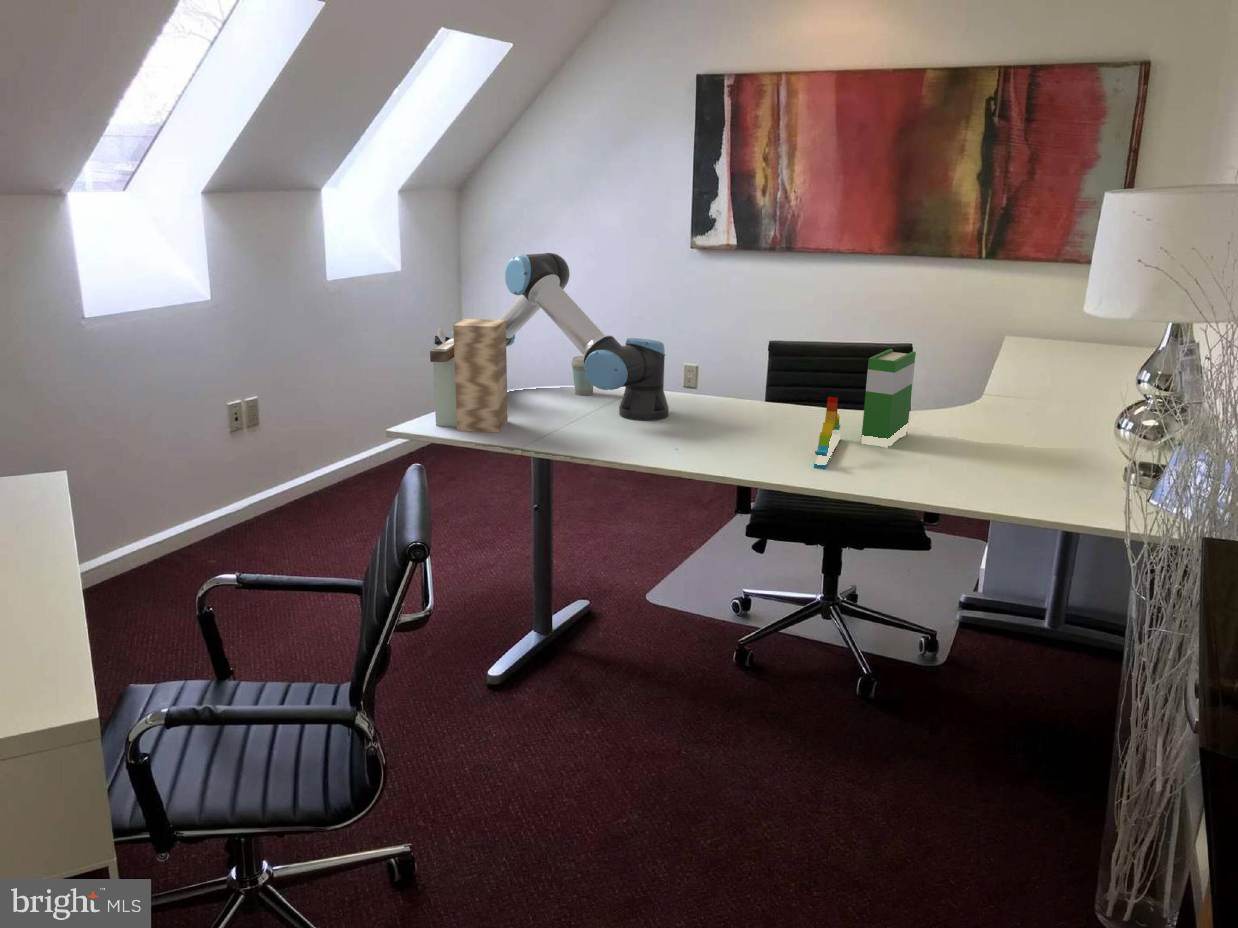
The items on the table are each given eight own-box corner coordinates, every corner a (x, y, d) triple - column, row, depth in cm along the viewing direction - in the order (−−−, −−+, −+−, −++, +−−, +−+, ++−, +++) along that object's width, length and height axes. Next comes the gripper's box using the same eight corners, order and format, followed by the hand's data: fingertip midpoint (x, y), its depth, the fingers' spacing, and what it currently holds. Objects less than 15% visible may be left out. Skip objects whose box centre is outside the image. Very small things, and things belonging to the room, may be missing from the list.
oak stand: (507, 421, 284) (505, 320, 275) (498, 432, 272) (496, 326, 263) (467, 420, 285) (464, 318, 276) (457, 430, 273) (453, 325, 265)
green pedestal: (467, 418, 286) (465, 352, 280) (459, 426, 278) (457, 358, 272) (444, 417, 287) (441, 351, 281) (435, 425, 278) (432, 357, 273)
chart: (826, 470, 243) (831, 412, 239) (813, 469, 244) (818, 411, 240) (841, 440, 271) (845, 388, 266) (829, 439, 272) (834, 387, 267)
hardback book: (881, 430, 280) (889, 348, 273) (907, 434, 276) (915, 351, 269) (860, 444, 266) (868, 358, 259) (887, 448, 262) (895, 361, 255)
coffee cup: (593, 397, 315) (593, 361, 312) (568, 395, 317) (568, 359, 313) (599, 391, 323) (599, 356, 320) (574, 390, 325) (574, 355, 321)
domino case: (466, 348, 287) (466, 337, 286) (446, 362, 266) (445, 351, 265) (452, 347, 287) (451, 337, 286) (430, 361, 266) (429, 350, 265)
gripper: (513, 368, 307) (501, 345, 286) (437, 365, 309) (419, 342, 289) (515, 345, 309) (503, 321, 288) (439, 343, 311) (421, 319, 290)
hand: (461, 331), depth 288 cm, fingers open, 13 cm apart
